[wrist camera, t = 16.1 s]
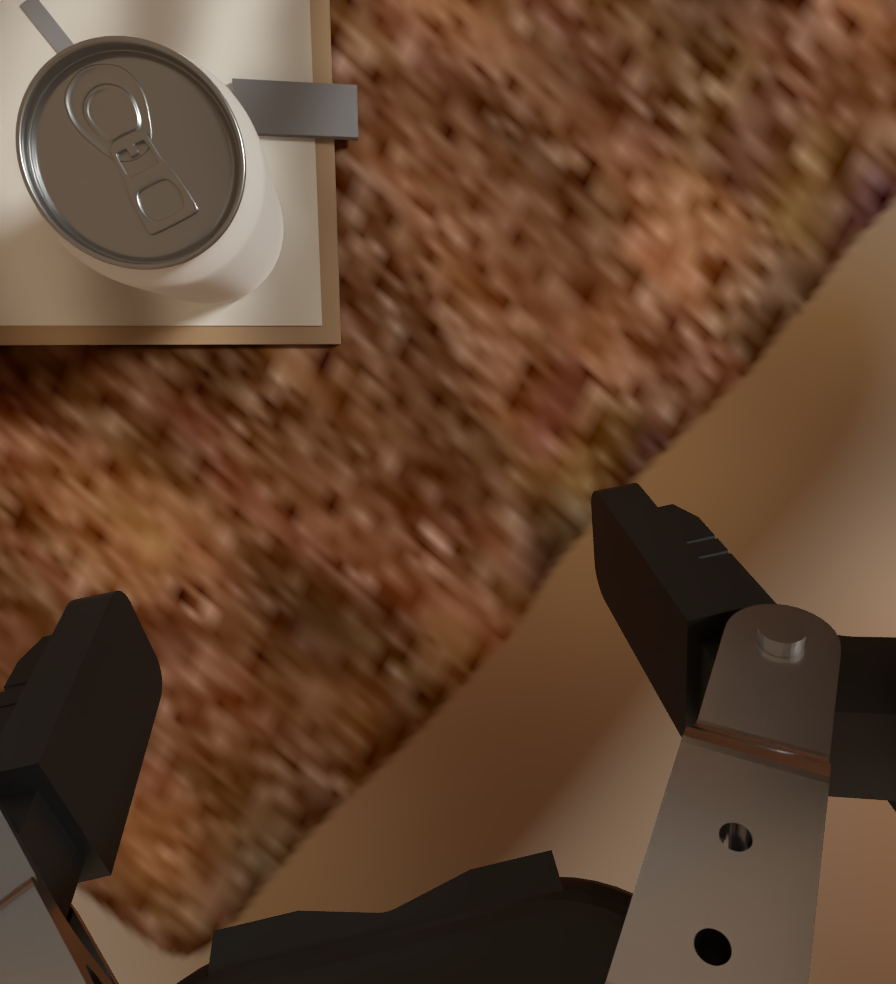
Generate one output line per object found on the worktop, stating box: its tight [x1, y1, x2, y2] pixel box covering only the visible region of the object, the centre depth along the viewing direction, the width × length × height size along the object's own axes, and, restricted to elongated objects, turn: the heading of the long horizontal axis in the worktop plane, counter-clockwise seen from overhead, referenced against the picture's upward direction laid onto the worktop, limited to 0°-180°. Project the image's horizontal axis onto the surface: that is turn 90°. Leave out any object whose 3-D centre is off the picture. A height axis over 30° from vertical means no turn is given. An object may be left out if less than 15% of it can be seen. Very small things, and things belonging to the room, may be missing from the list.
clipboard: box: [0, 0, 358, 345], centre depth 29 cm, size 17×19×1 cm
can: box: [15, 36, 284, 304], centre depth 24 cm, size 6×6×12 cm
